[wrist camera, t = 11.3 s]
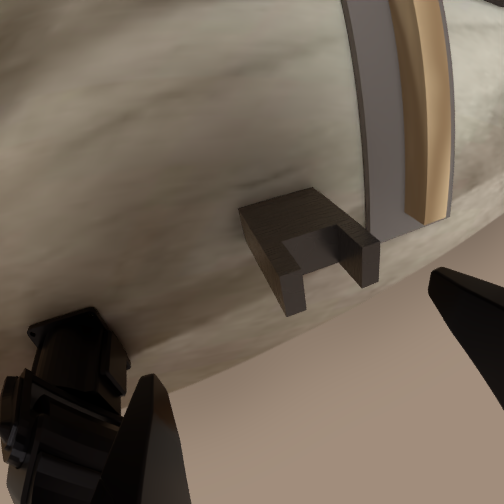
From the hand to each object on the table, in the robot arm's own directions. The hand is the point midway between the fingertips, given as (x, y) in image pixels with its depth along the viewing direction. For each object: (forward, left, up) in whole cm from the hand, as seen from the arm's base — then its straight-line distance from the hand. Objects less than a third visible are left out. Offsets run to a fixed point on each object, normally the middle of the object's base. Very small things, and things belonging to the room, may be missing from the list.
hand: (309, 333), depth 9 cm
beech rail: (+14, +7, -11) cm, 19 cm away
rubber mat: (+14, +7, -12) cm, 20 cm away
